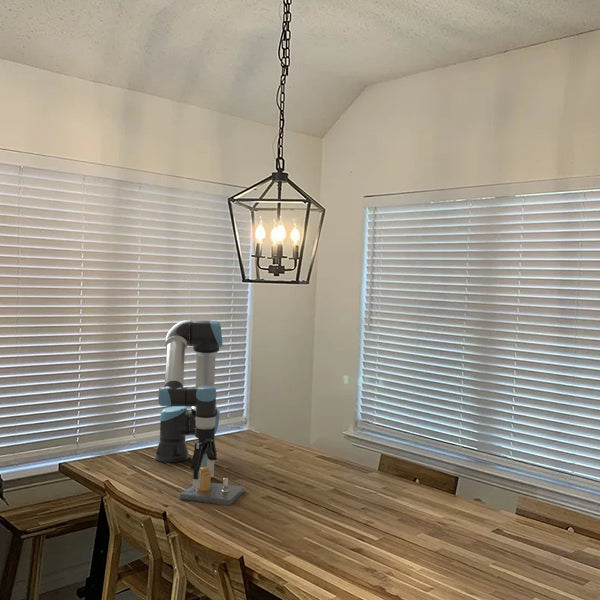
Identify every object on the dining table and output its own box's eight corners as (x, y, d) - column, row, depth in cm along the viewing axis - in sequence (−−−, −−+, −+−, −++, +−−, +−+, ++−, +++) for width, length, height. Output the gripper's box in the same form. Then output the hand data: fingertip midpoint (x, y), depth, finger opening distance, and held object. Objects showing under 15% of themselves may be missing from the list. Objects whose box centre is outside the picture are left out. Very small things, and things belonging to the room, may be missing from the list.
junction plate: (196, 485, 251) (197, 468, 251) (244, 491, 246) (244, 473, 246) (179, 498, 235) (180, 480, 235) (230, 505, 230) (230, 486, 230)
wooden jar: (199, 485, 245) (200, 465, 244) (212, 487, 243) (212, 467, 243) (194, 490, 240) (194, 469, 239) (206, 491, 238) (207, 470, 238)
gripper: (208, 419, 254) (206, 471, 254) (182, 433, 230) (180, 490, 230) (225, 421, 252) (224, 473, 253) (201, 435, 228) (199, 493, 228)
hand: (203, 481), depth 241 cm, fingers open, 13 cm apart
